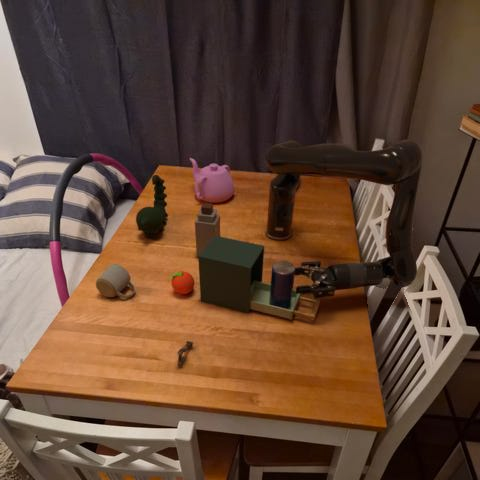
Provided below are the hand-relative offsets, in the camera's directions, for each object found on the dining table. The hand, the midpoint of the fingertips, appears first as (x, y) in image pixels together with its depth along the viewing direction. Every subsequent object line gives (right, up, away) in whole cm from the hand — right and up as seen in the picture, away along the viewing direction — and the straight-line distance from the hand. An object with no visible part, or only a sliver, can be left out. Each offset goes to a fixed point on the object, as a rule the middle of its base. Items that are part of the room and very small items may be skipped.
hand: (292, 281), depth 114 cm
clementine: (-33, -3, +11) cm, 35 cm away
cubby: (-17, -4, +10) cm, 20 cm away
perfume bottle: (-26, +12, +27) cm, 39 cm away
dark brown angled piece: (-29, -21, -9) cm, 37 cm away
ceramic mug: (-52, -2, +10) cm, 53 cm away
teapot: (-28, +43, +62) cm, 80 cm away
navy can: (-3, -6, +5) cm, 9 cm away
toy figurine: (-47, +23, +39) cm, 65 cm away
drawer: (-3, -7, +5) cm, 9 cm away
